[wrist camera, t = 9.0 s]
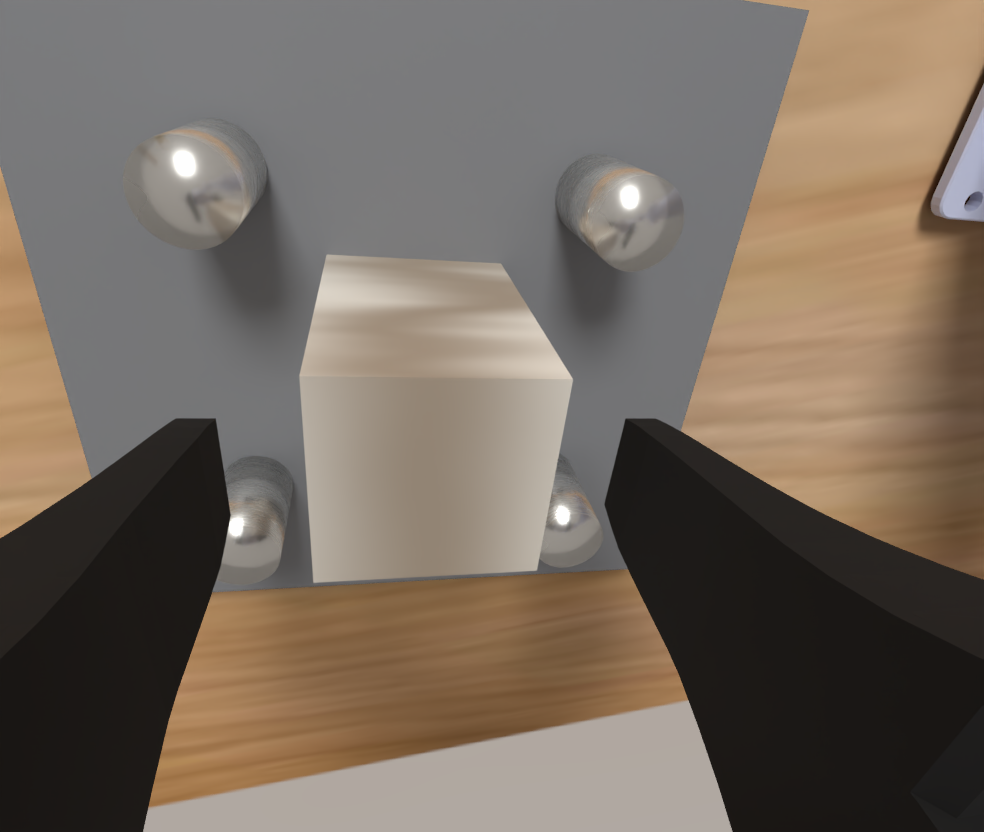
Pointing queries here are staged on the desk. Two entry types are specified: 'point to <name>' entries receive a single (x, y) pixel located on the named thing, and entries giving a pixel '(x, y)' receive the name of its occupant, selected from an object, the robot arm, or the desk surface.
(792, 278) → the desk surface
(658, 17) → the peg board
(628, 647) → the desk surface
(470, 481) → the cream block
